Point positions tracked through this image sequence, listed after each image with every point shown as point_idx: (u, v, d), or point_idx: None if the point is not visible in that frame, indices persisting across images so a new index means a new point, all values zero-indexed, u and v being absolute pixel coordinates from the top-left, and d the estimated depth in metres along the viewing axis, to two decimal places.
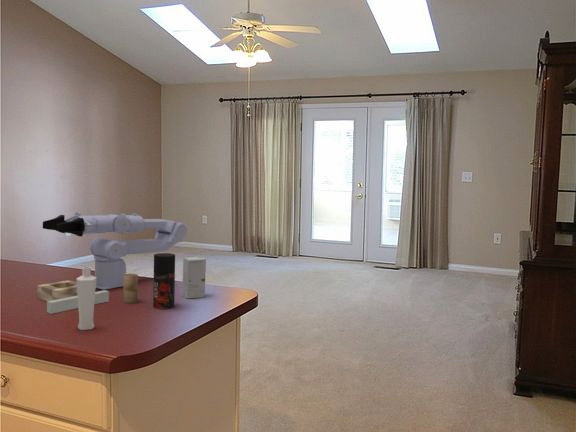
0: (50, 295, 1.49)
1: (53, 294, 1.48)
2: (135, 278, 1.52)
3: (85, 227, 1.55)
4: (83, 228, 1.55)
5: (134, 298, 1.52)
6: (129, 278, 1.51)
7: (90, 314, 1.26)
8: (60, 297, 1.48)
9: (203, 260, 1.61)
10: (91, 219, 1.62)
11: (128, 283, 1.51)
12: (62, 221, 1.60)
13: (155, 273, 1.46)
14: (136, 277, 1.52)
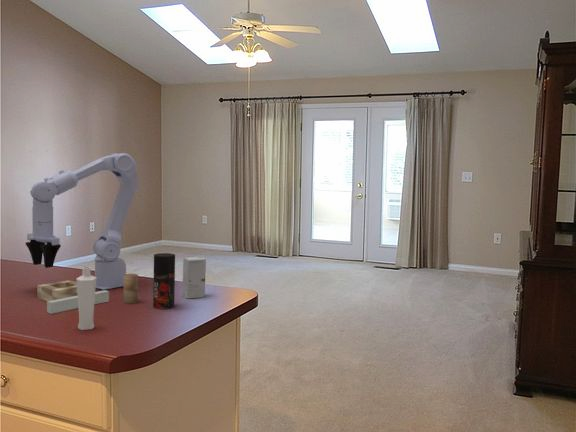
0: (50, 295, 1.49)
1: (53, 294, 1.48)
2: (135, 278, 1.52)
3: (54, 244, 1.55)
4: (54, 245, 1.56)
5: (134, 298, 1.52)
6: (130, 278, 1.51)
7: (90, 314, 1.26)
8: (60, 297, 1.48)
9: (203, 260, 1.61)
10: (40, 227, 1.55)
11: (128, 283, 1.51)
12: (34, 245, 1.60)
13: (155, 273, 1.46)
14: (136, 277, 1.52)
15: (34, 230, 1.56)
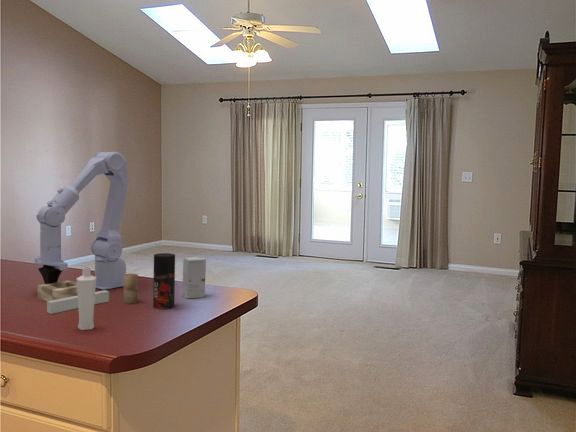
0: (50, 295, 1.48)
1: (53, 294, 1.48)
2: (135, 278, 1.52)
3: (63, 269, 1.53)
4: (56, 269, 1.55)
5: (134, 298, 1.52)
6: (130, 278, 1.51)
7: (90, 314, 1.26)
8: (60, 297, 1.48)
9: (203, 260, 1.61)
10: (48, 251, 1.53)
11: (128, 283, 1.51)
12: None
13: (155, 273, 1.46)
14: (136, 277, 1.52)
15: (42, 255, 1.54)
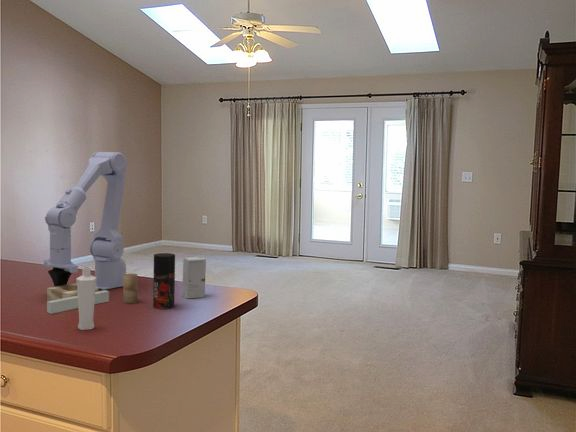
0: (60, 298, 1.46)
1: (63, 297, 1.45)
2: (135, 278, 1.52)
3: None
4: (66, 271, 1.53)
5: (134, 297, 1.52)
6: (129, 278, 1.51)
7: (90, 314, 1.26)
8: None
9: (203, 260, 1.61)
10: (58, 254, 1.51)
11: (128, 283, 1.51)
12: None
13: (155, 273, 1.46)
14: (136, 277, 1.52)
15: (52, 257, 1.51)
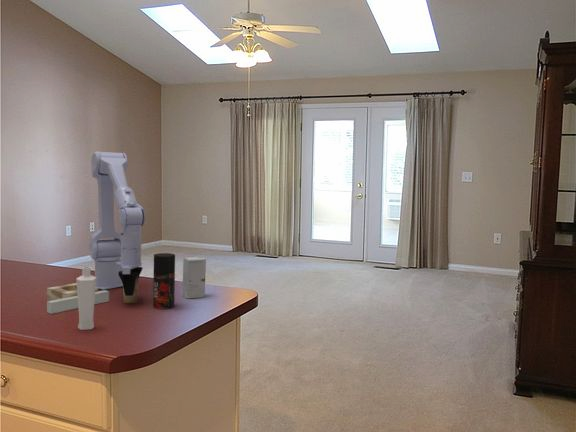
0: (60, 298, 1.46)
1: (63, 297, 1.45)
2: None
3: (126, 273, 1.46)
4: (128, 273, 1.48)
5: (135, 297, 1.52)
6: None
7: (90, 314, 1.26)
8: None
9: (203, 260, 1.61)
10: (122, 253, 1.50)
11: None
12: None
13: (155, 273, 1.46)
14: None
15: None
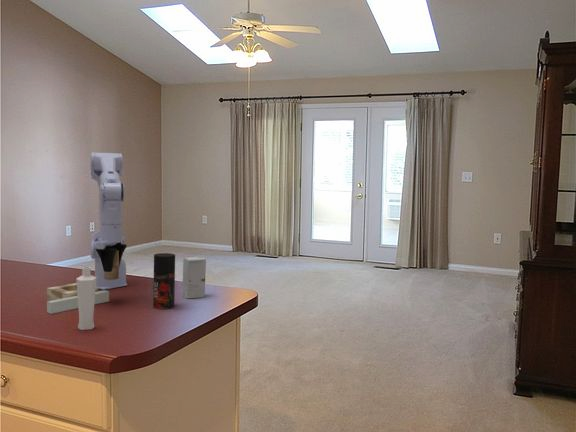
0: (60, 298, 1.46)
1: (63, 297, 1.45)
2: (115, 254, 1.50)
3: (100, 248, 1.45)
4: (104, 249, 1.47)
5: (114, 274, 1.50)
6: None
7: (90, 314, 1.26)
8: None
9: (203, 260, 1.61)
10: (102, 228, 1.49)
11: None
12: (112, 248, 1.53)
13: (155, 273, 1.46)
14: (116, 253, 1.50)
15: None
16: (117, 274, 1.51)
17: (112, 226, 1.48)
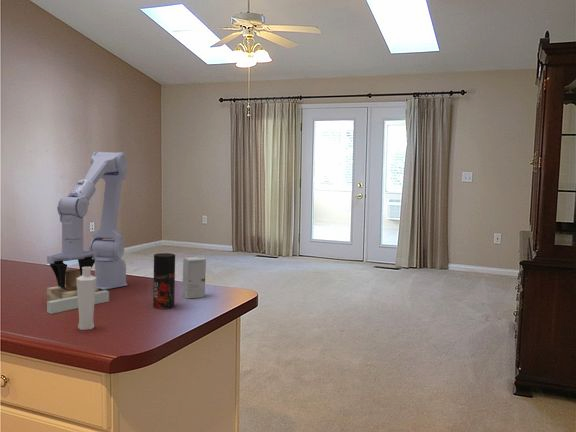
0: (60, 298, 1.46)
1: (63, 297, 1.45)
2: (73, 274, 1.48)
3: None
4: (54, 263, 1.45)
5: None
6: (67, 274, 1.48)
7: (90, 314, 1.26)
8: None
9: (203, 260, 1.61)
10: None
11: (66, 279, 1.49)
12: (81, 262, 1.53)
13: (155, 273, 1.46)
14: (75, 274, 1.49)
15: None
16: None
17: (67, 241, 1.47)
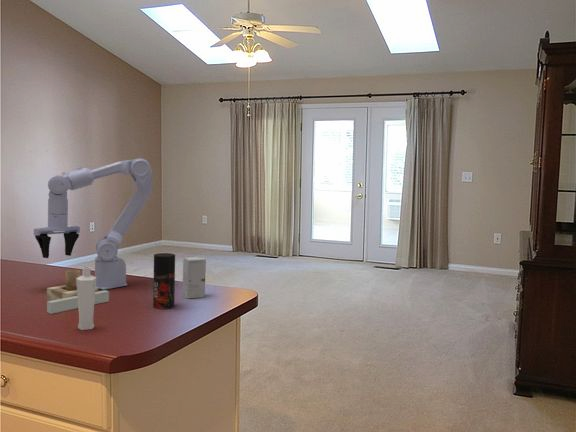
0: (60, 298, 1.46)
1: (63, 297, 1.45)
2: (73, 274, 1.48)
3: (37, 234, 1.59)
4: (39, 236, 1.59)
5: None
6: (67, 274, 1.48)
7: (90, 314, 1.26)
8: None
9: (203, 260, 1.61)
10: None
11: (66, 279, 1.49)
12: (66, 236, 1.68)
13: (155, 273, 1.46)
14: (75, 274, 1.49)
15: None
16: None
17: (53, 215, 1.61)
